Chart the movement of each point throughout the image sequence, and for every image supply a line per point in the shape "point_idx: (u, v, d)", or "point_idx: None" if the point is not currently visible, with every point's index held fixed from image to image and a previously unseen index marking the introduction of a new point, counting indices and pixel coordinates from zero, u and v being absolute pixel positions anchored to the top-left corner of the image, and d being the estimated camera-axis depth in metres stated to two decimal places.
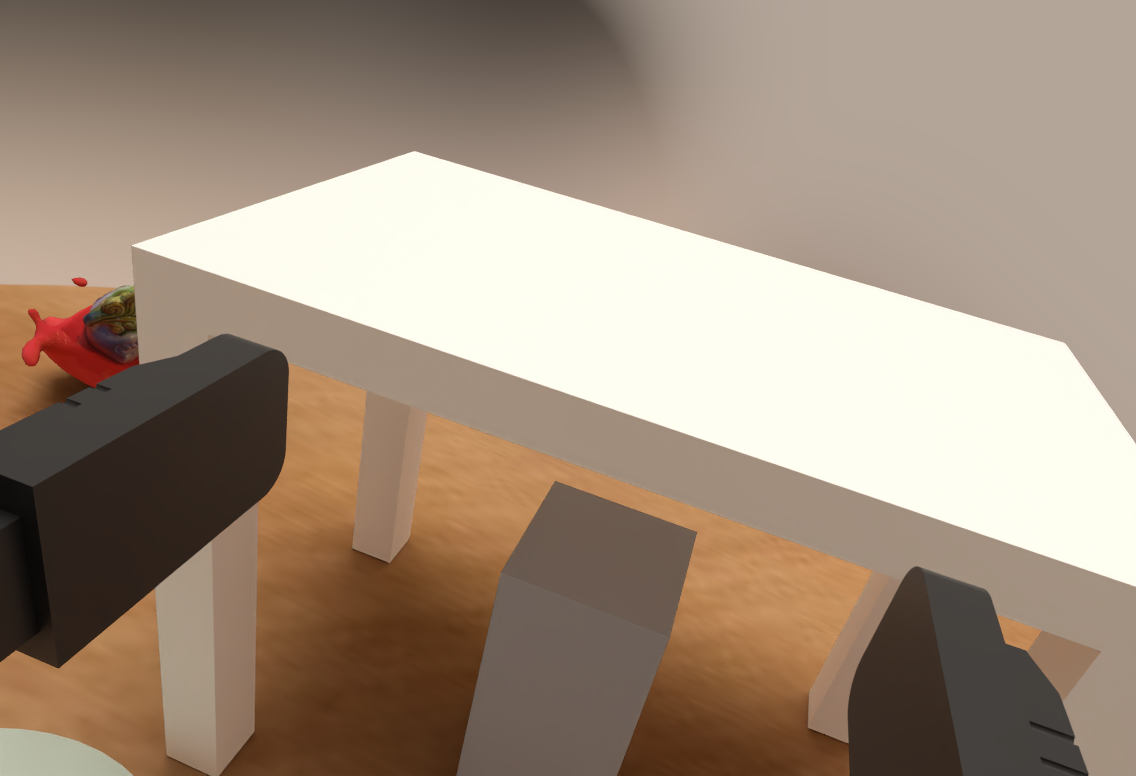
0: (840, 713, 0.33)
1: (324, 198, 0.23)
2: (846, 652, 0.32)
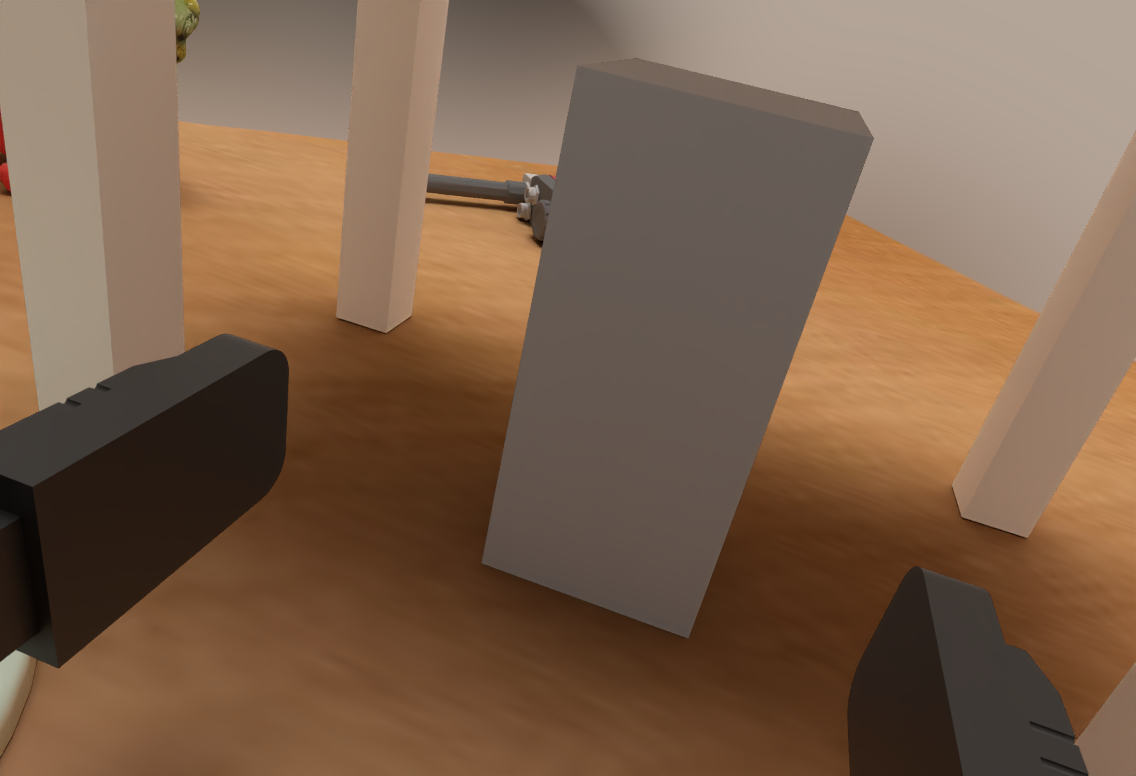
0: (1011, 488, 0.24)
1: None
2: (1025, 391, 0.23)
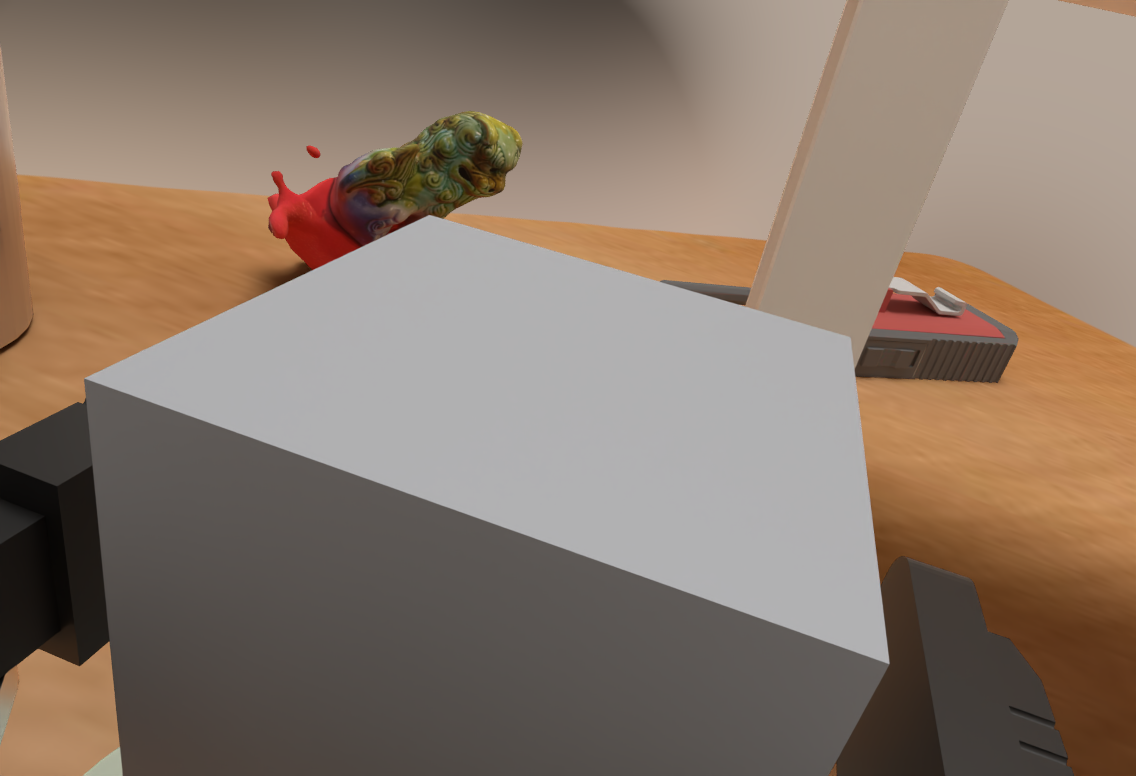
0: None
1: None
2: None
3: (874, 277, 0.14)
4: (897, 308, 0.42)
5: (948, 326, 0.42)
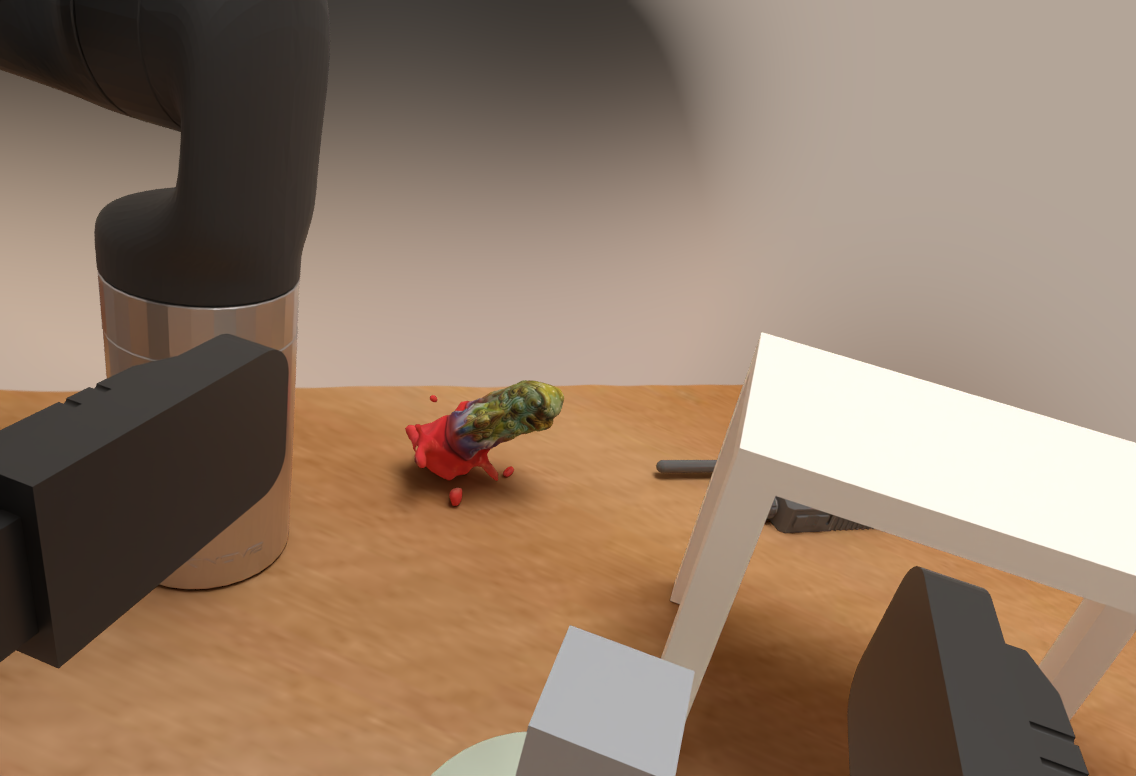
0: None
1: (770, 391, 0.37)
2: (1056, 673, 0.45)
3: (727, 597, 0.35)
4: None
5: None
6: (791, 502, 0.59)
